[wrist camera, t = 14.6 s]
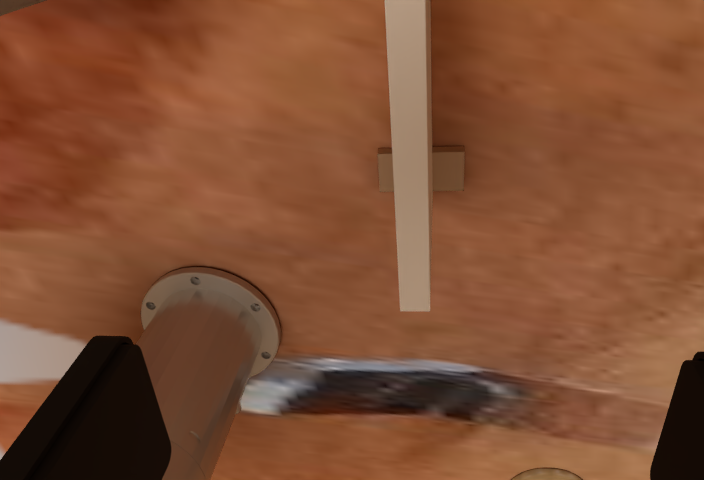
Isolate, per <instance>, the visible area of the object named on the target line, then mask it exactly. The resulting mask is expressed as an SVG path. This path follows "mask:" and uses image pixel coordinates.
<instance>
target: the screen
mask: <svg viewBox="0 0 704 480" xmlns="http://www.w3.org/2000/svg"><path fill="white" fill-rule="evenodd" d="M385 17H386V37H387V57H388V77H389V97H390V117H391V137H392V148H379V149H378V154H377V155H378V171H379V186H380V192H394V197H395V217H396V237H397V257H398V277H399V297H400V311H425V312H430V292H431V247H432V203H433V191H464V146H446V147H432V76H431V0H385Z"/></svg>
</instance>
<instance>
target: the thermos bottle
mask: <svg viewBox="0 0 704 480" xmlns="http://www.w3.org/2000/svg"><path fill="white" fill-rule="evenodd" d="M43 1H46V0H0V16H1V15H4V14H7V13H10V12H13V11H16V10H19V9H22V8H25V7H28V6H31V5H34V4H37V3H40V2H43Z"/></svg>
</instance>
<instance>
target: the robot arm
mask: <svg viewBox="0 0 704 480" xmlns="http://www.w3.org/2000/svg"><path fill="white" fill-rule="evenodd" d="M141 321H142V326H143V329H144V332H143V334H142V335H141V337H140V338H139V340H138V341H137V343H136V345H134V344H133V342H132V340H131V339H130V338H129V337H125V336H95V337H93V338H92V339H91V340H90V341H89V342H88V344H87V345H86V346H85V348H84V349H83V351H82V352H81V353H80V355H79V356H78V357H77V359H76V360H75V361H74V363H73V364H72V365H71V367H70V368H69V369H68V371H67V372H66V373H65V375H64V376H63V377H62V379H61V380H60V381H59V383H58V384H57V385H56V387H55V388H54V389H53V391H52V392H51V393H50V395H49V396H48V397H47V399H46V400H45V401H44V403H43V404H42V405H41V407H40V408H39V409H38V411H37V412H36V413H35V415H34V416H33V417H32V419H31V420H30V421H29V423H28V424H27V425H26V427H25V428H24V429H23V431H22V432H21V433H20V435H19V436H18V437H17V439H16V440H15V441H14V443H13V444H12V445H11V447H10V448H9V449H8V451H7V452H6V453H5V455H4V456H3V457H2V459H1V460H0V480H211V477H212V474H213V472H214V469H215V466H216V464H217V461H218V459H219V456H220V453H221V451H222V448H223V445H224V443H225V440H226V437H227V435H228V432H229V429H230V427H231V424H232V421H233V419H234V416H235V414H237V413H239V412H240V410H241V404H240V400H241V397H242V395H243V392H244V389H245V387H246V384H247V381H248V379H249V378H250V377H252V376H254V375H256V374H259V373H260V372H261V371H263V370H264V369H266V368H267V367H268V366H269V364H270V363H271V362H272V361H273V359H274V357H275V355H276V353H277V350H278V347H279V344H280V338H281V329H280V324H279V320H278V317H277V315H276V313H275V310H274V309H273V307H272V306H271V304H270V303H269V301H268V300H267V299H266V298H265V297H264V296H263V295H262V294H261V293H260V292H259V291H258V290H257V289H256V288H254V287H253V286H252V285H250V284H249V283H248V282H246V281H244V280H242V279H240V278H239V277H237V276H235V275H232V274H229V273H227V272H224V271H221V270H216V269H211V268H204V267H190V268H182V269H178V270H175V271H172V272H169V273H167V274H166V275H164V276H162V277H160V278H159V279H158V280H157V281H156V282H155V283H154V284H153V285H152V286H151V288H150V289H149V291H148V292H147V294H146V295H145V297H144V300H143V302H142V307H141ZM650 479H651V480H704V352H697V353H696V354H695V355H694V357H693V360H685V361H684V362H683V364H682V366H681V369H680V373H679V376H678V379H677V383H676V386H675V389H674V392H673V396H672V399H671V402H670V406H669V409H668V412H667V416H666V419H665V422H664V426H663V429H662V432H661V435H660V439H659V442H658V445H657V449H656V452H655V455H654V459H653V462H652V465H651V470H650Z"/></svg>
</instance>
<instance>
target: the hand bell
mask: <svg viewBox="0 0 704 480" xmlns="http://www.w3.org/2000/svg"><path fill="white" fill-rule="evenodd" d="M512 480H582V479H581V478H579V477H578V476H577V475H575V474H573V473H571V472H569V471H566V470H561V469H556V468H537V469H532V470H528V471H525V472H523V473H521V474H519V475H517V476H515V477H514V478H513V479H512Z"/></svg>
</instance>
